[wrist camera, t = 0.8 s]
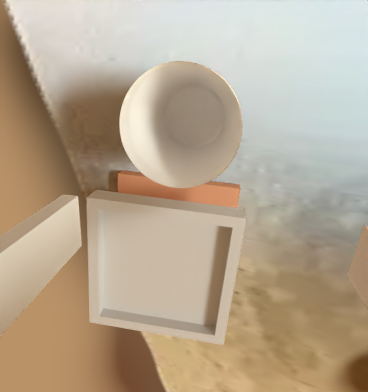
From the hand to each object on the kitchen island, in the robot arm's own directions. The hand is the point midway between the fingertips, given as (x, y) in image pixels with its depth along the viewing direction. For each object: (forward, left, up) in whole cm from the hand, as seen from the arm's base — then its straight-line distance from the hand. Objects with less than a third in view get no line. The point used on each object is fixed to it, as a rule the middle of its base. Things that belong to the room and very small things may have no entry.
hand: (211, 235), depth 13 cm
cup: (-4, -3, -20) cm, 21 cm away
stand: (+10, -4, -20) cm, 23 cm away
